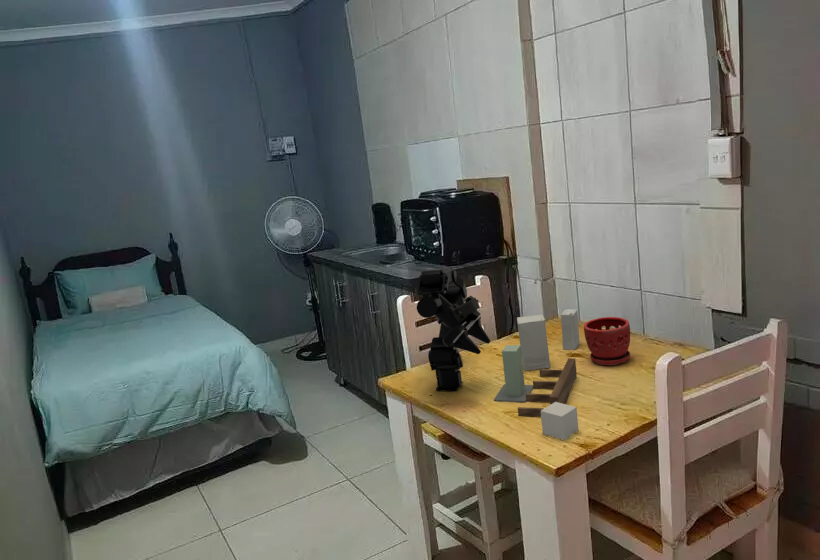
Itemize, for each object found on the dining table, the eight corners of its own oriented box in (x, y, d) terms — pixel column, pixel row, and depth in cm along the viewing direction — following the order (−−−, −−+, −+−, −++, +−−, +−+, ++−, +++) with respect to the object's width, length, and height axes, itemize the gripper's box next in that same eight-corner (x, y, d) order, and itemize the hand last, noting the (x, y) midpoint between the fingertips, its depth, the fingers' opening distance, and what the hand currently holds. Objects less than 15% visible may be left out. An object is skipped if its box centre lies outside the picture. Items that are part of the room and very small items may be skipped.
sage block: (506, 395, 171) (501, 351, 168) (511, 388, 175) (506, 345, 173) (521, 396, 169) (516, 351, 167) (525, 389, 174) (520, 345, 171)
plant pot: (603, 350, 196) (600, 314, 194) (640, 357, 186) (638, 319, 183) (577, 363, 189) (574, 325, 186) (615, 371, 178) (612, 331, 176)
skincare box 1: (548, 361, 193) (543, 313, 190) (551, 368, 187) (546, 319, 184) (521, 363, 194) (516, 316, 191) (523, 371, 188) (517, 322, 185)
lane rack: (518, 415, 159) (516, 395, 158) (540, 375, 183) (538, 358, 182) (559, 417, 154) (557, 397, 153) (576, 376, 178) (575, 358, 177)
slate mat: (493, 401, 170) (493, 399, 170) (504, 385, 179) (504, 384, 179) (525, 402, 166) (525, 401, 166) (534, 386, 176) (534, 385, 176)
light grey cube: (557, 424, 151) (555, 401, 150) (578, 430, 147) (576, 407, 146) (542, 434, 148) (540, 410, 146) (564, 440, 143) (561, 416, 142)
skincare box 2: (567, 343, 207) (564, 308, 205) (580, 343, 205) (577, 308, 202) (562, 349, 202) (559, 314, 199) (576, 350, 200) (573, 314, 197)
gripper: (448, 298, 163) (493, 338, 161) (470, 282, 180) (511, 318, 177) (424, 327, 168) (467, 366, 165) (448, 309, 185) (487, 344, 182)
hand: (484, 347), depth 172 cm, fingers open, 9 cm apart
